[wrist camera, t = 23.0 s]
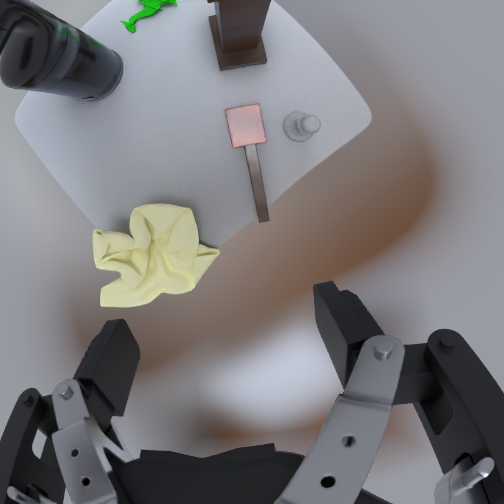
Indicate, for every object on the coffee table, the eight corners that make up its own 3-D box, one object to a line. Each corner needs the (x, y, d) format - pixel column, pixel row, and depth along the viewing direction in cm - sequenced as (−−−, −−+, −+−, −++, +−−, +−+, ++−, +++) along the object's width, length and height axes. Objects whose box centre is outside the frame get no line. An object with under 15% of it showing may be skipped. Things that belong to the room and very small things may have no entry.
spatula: (279, 216, 43) (280, 218, 42) (248, 222, 43) (248, 225, 42) (258, 104, 36) (259, 103, 35) (225, 110, 36) (225, 109, 35)
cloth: (229, 273, 47) (218, 252, 51) (191, 181, 34) (182, 166, 38) (119, 324, 44) (117, 300, 48) (54, 254, 31) (61, 231, 35)
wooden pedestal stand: (266, 63, 33) (303, -14, 12) (220, 71, 34) (206, -6, 12) (253, 13, 30) (273, -80, 8) (209, 20, 30) (190, -72, 8)
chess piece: (312, 142, 39) (330, 143, 31) (282, 140, 38) (294, 140, 31) (313, 113, 37) (331, 108, 30) (283, 110, 37) (295, 103, 29)
